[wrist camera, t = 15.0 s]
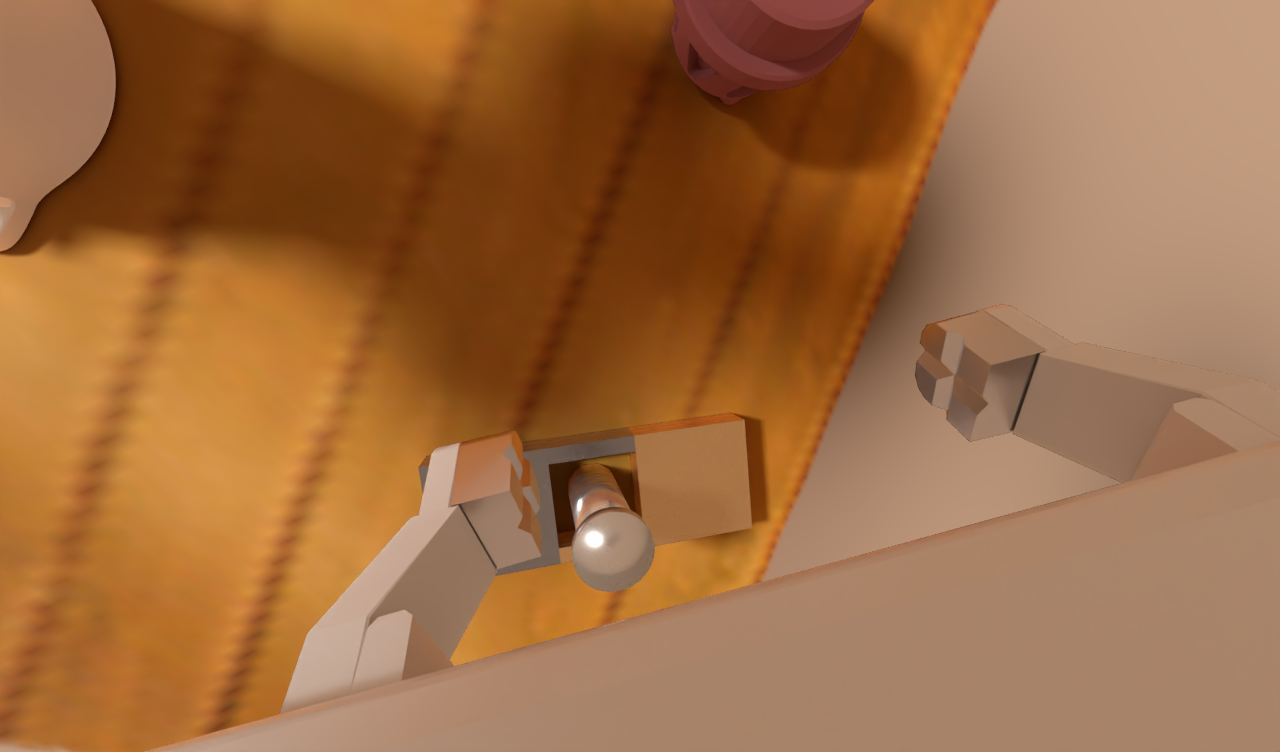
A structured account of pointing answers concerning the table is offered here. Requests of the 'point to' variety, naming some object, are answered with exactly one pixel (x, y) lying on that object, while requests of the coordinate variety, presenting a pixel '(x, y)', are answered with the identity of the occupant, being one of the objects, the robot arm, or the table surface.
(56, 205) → the table surface
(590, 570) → the metal peg
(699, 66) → the mechanical component
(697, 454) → the two-tone slotted plate
